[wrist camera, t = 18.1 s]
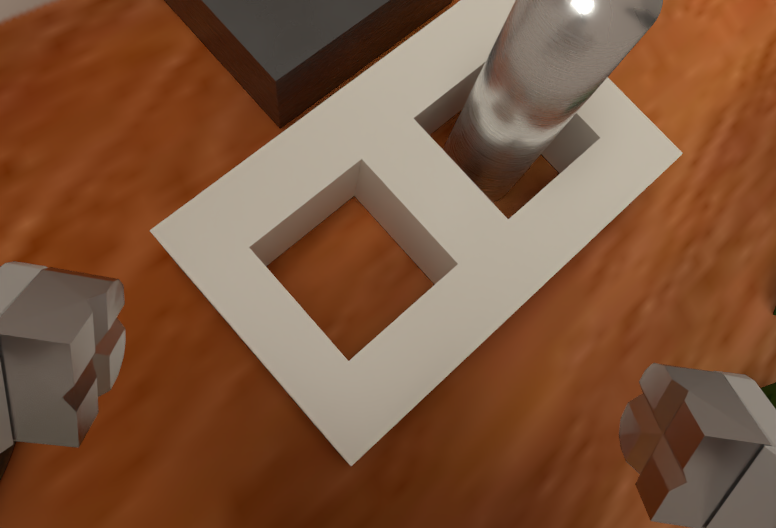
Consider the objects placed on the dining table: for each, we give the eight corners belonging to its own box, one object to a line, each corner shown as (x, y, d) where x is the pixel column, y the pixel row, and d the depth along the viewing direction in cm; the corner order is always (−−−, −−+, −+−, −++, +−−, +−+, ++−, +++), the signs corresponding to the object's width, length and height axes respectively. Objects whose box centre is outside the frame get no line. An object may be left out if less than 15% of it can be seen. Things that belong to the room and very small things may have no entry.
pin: (422, 161, 32) (506, -30, 18) (478, 116, 33) (596, -96, 19) (476, 219, 32) (603, 67, 18) (531, 172, 33) (689, -6, 19)
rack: (173, 259, 29) (149, 230, 25) (477, 27, 34) (501, -30, 30) (344, 459, 28) (351, 466, 24) (633, 188, 33) (683, 153, 29)
